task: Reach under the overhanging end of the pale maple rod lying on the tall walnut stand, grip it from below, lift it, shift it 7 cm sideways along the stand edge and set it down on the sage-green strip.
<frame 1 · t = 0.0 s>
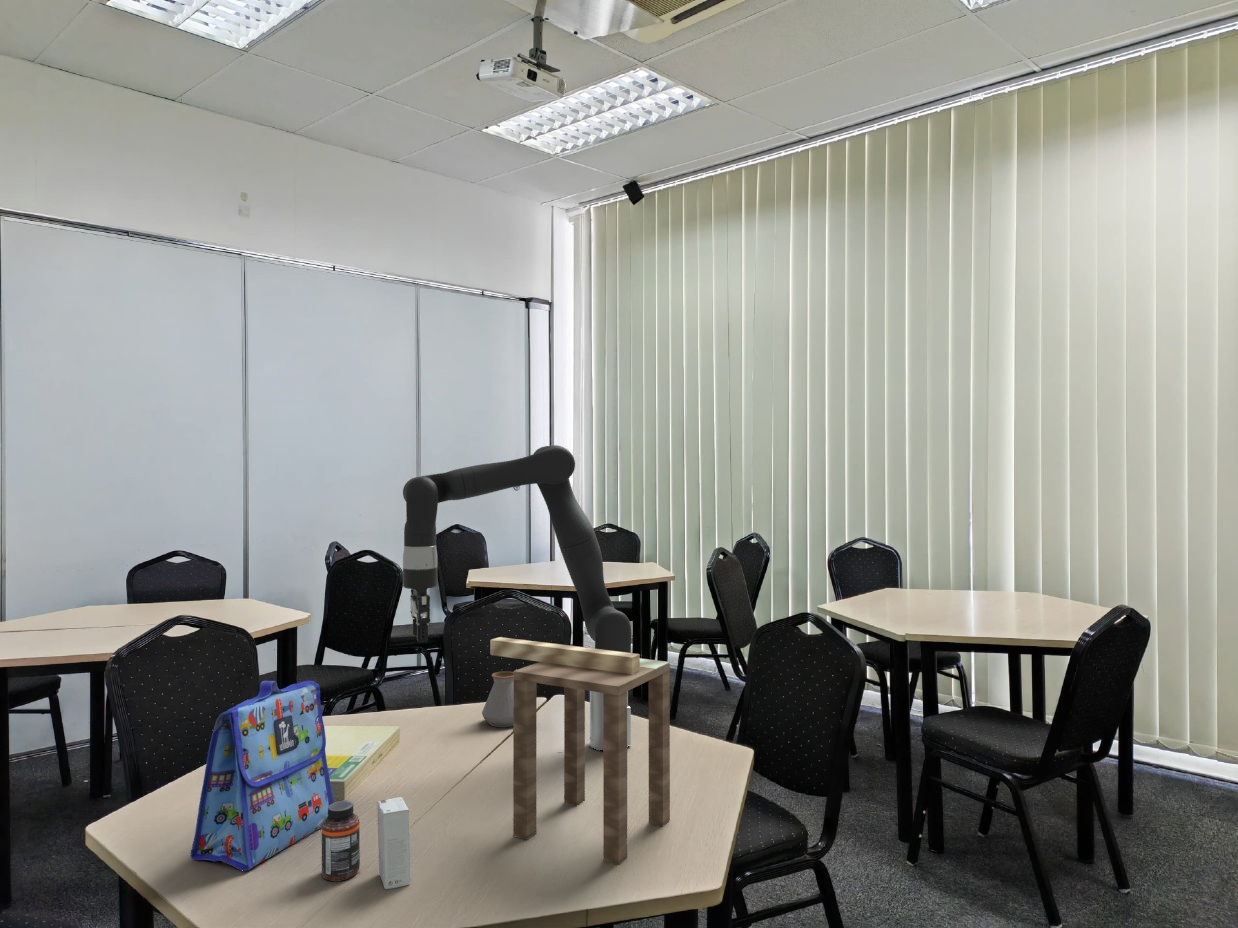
hand: (420, 638, 180), 29 cm above the table, tool pointing down, fingers open, 8 cm apart
lunch bag: (267, 840, 145), on the table
walnut stand: (593, 827, 150), on the table
supplement bottle: (340, 874, 133), on the table
skincare box: (393, 880, 131), on the table
maple rod: (561, 662, 154), point 30 cm above the table, touching walnut stand
puzzle box: (323, 770, 181), on the table
coffee pot: (522, 722, 214), on the table
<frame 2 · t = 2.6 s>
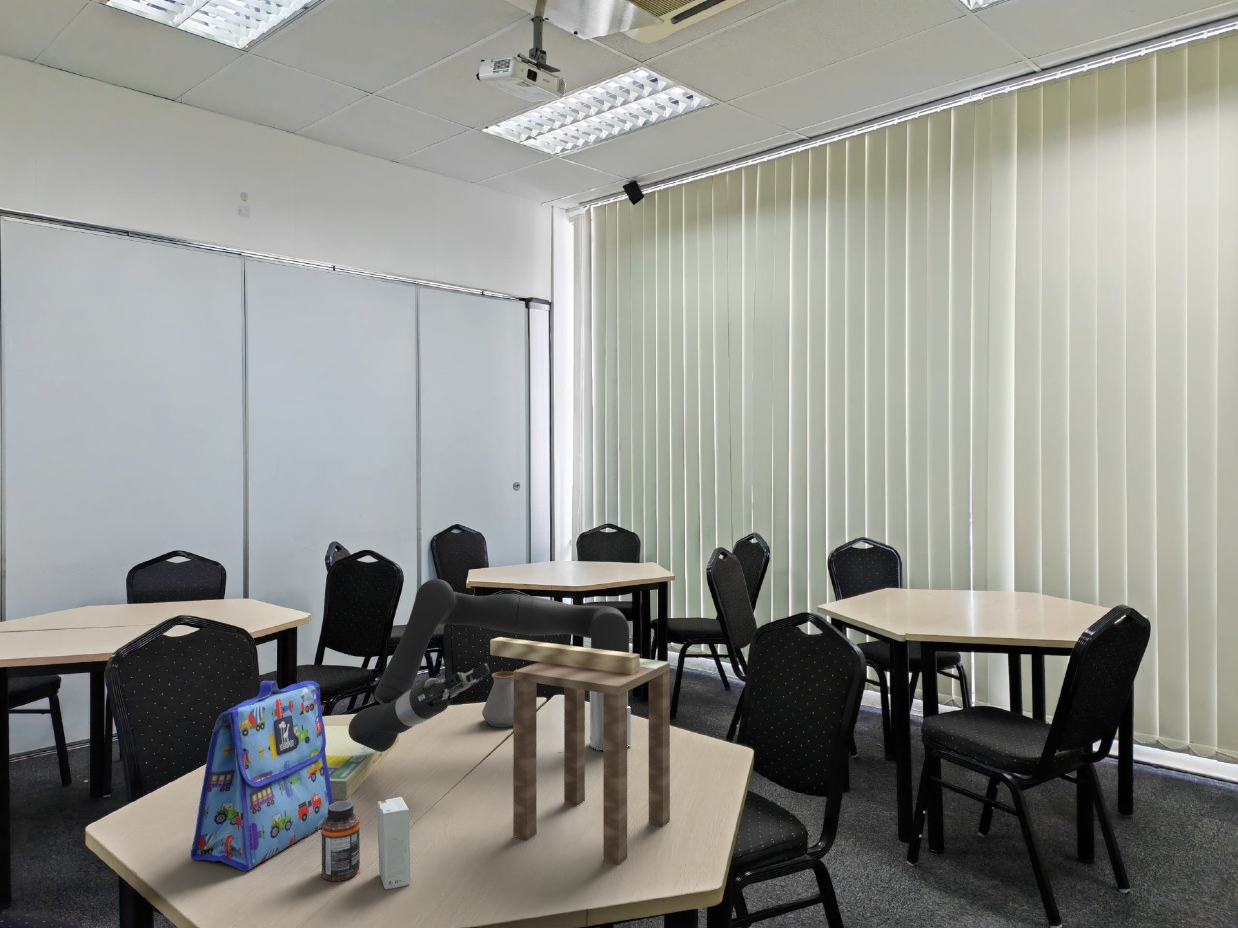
hand: (474, 672, 164), 26 cm above the table, tool pointing upward, fingers open, 8 cm apart
nothing on the table moved.
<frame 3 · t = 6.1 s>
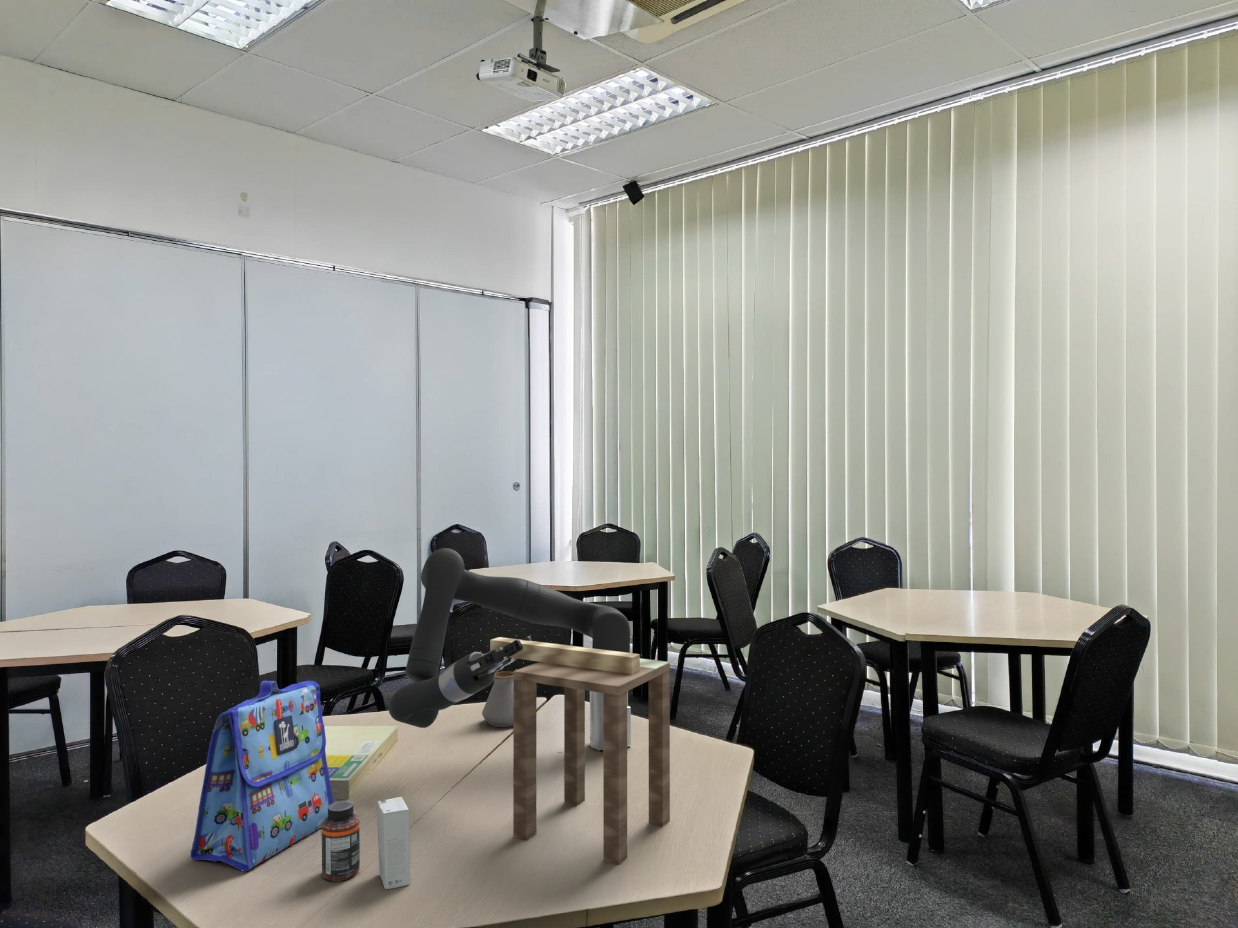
hand: (525, 642, 158), 33 cm above the table, tool pointing upward, fingers closed on maple rod, 3 cm apart
maple rod: (561, 662, 153), point 30 cm above the table, touching gripper, walnut stand
everything else where it was.
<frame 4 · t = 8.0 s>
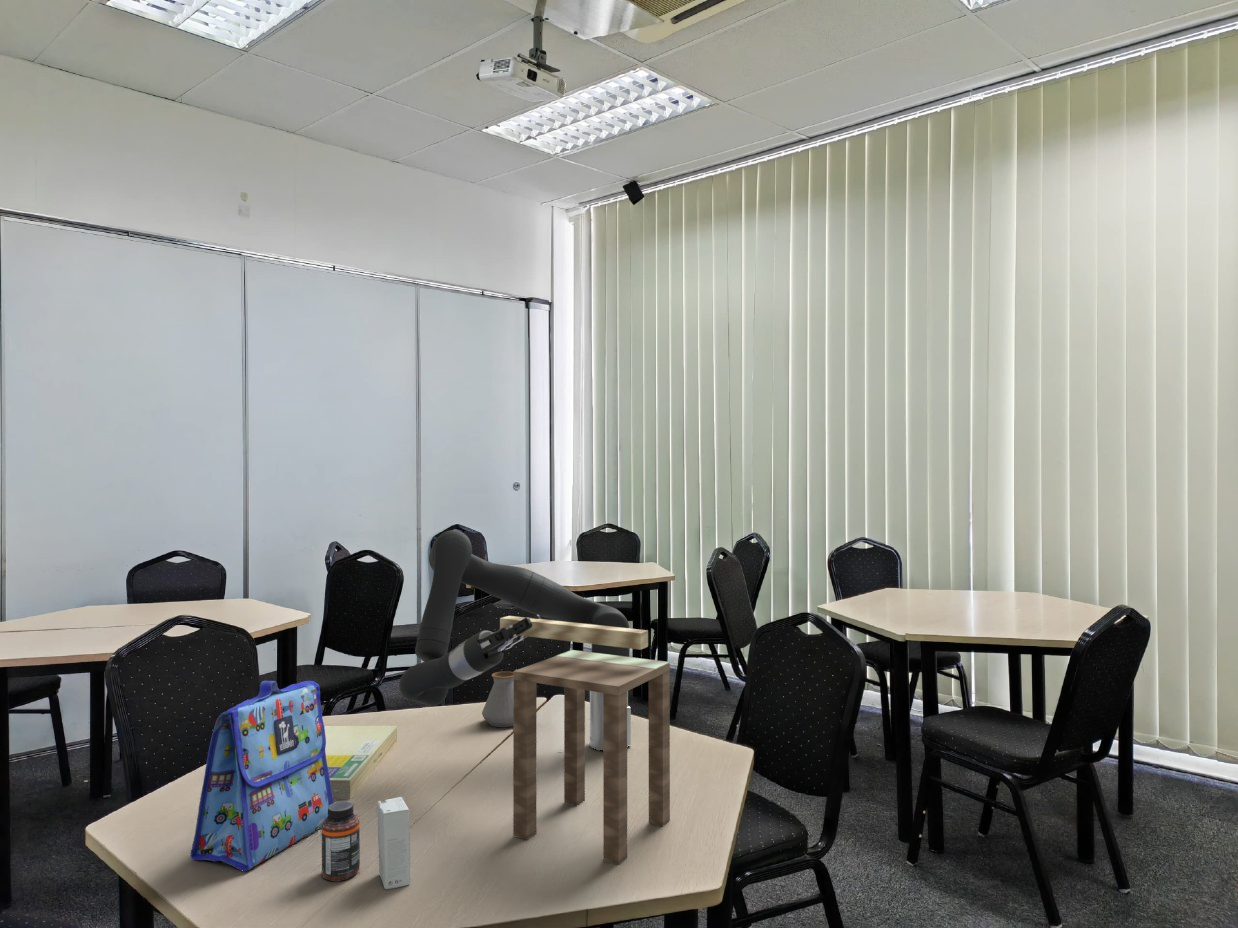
hand: (534, 620, 160), 37 cm above the table, tool pointing upward, fingers closed on maple rod, 3 cm apart
maple rod: (571, 639, 156), point 34 cm above the table, touching gripper
everything else where it was.
when the fingers open (34 cm above the table, at t = 10.1 s): maple rod stays where it is, resting on walnut stand.
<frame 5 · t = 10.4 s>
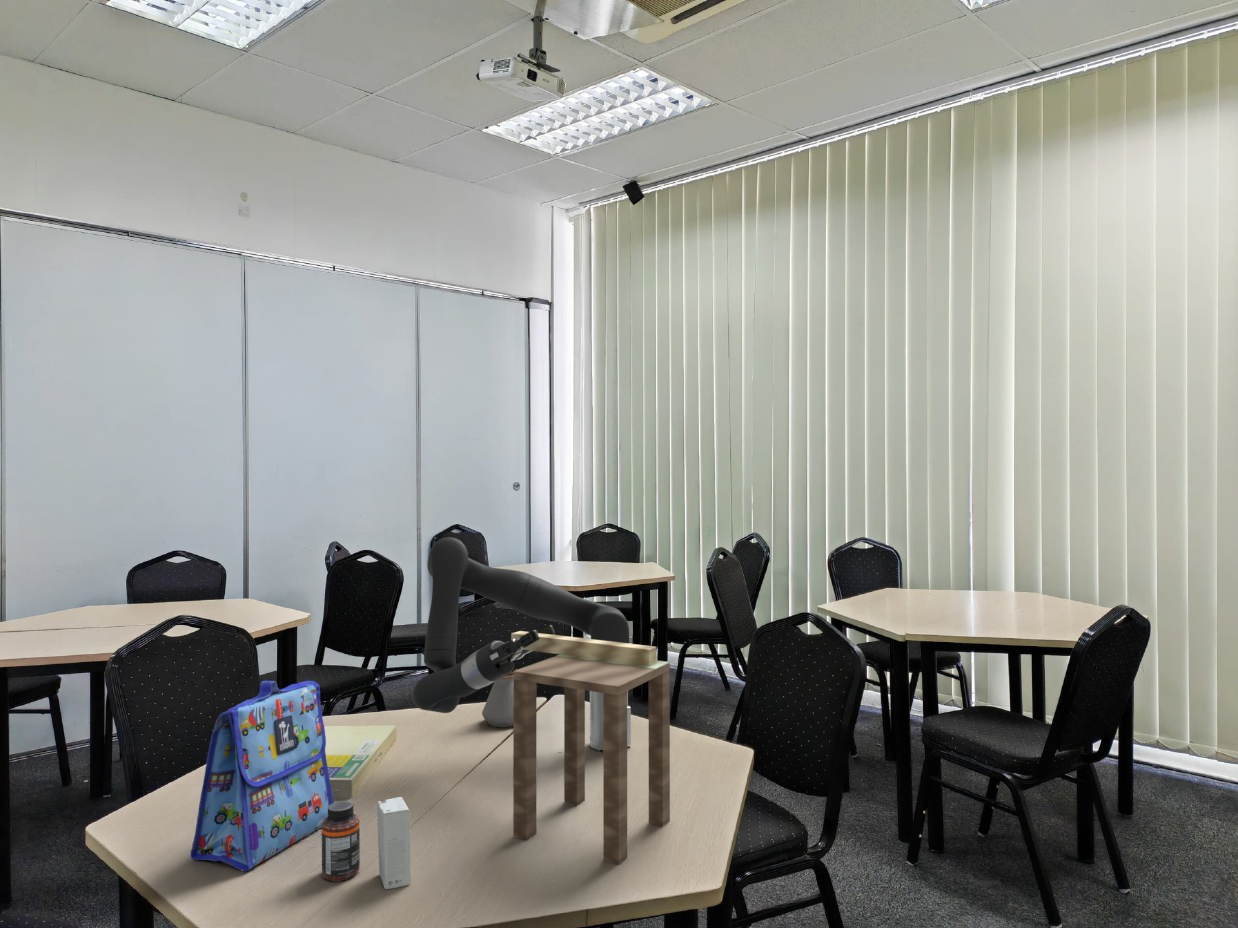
hand: (544, 631, 164), 34 cm above the table, tool pointing upward, fingers open, 5 cm apart
maple rod: (581, 654, 160), point 30 cm above the table, touching walnut stand
everything else where it was.
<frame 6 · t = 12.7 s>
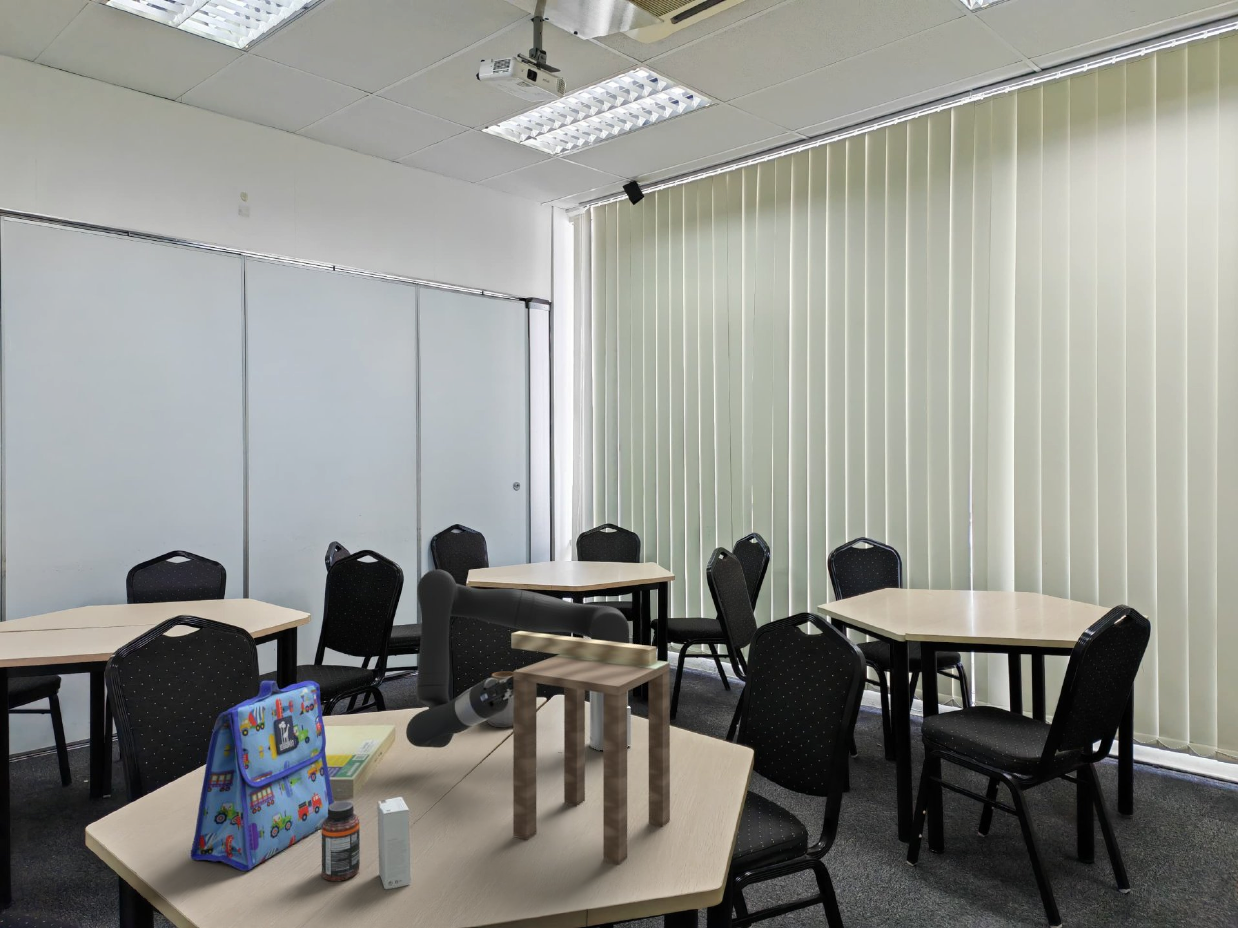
hand: (535, 671, 165), 25 cm above the table, tool pointing upward, fingers open, 8 cm apart
nothing on the table moved.
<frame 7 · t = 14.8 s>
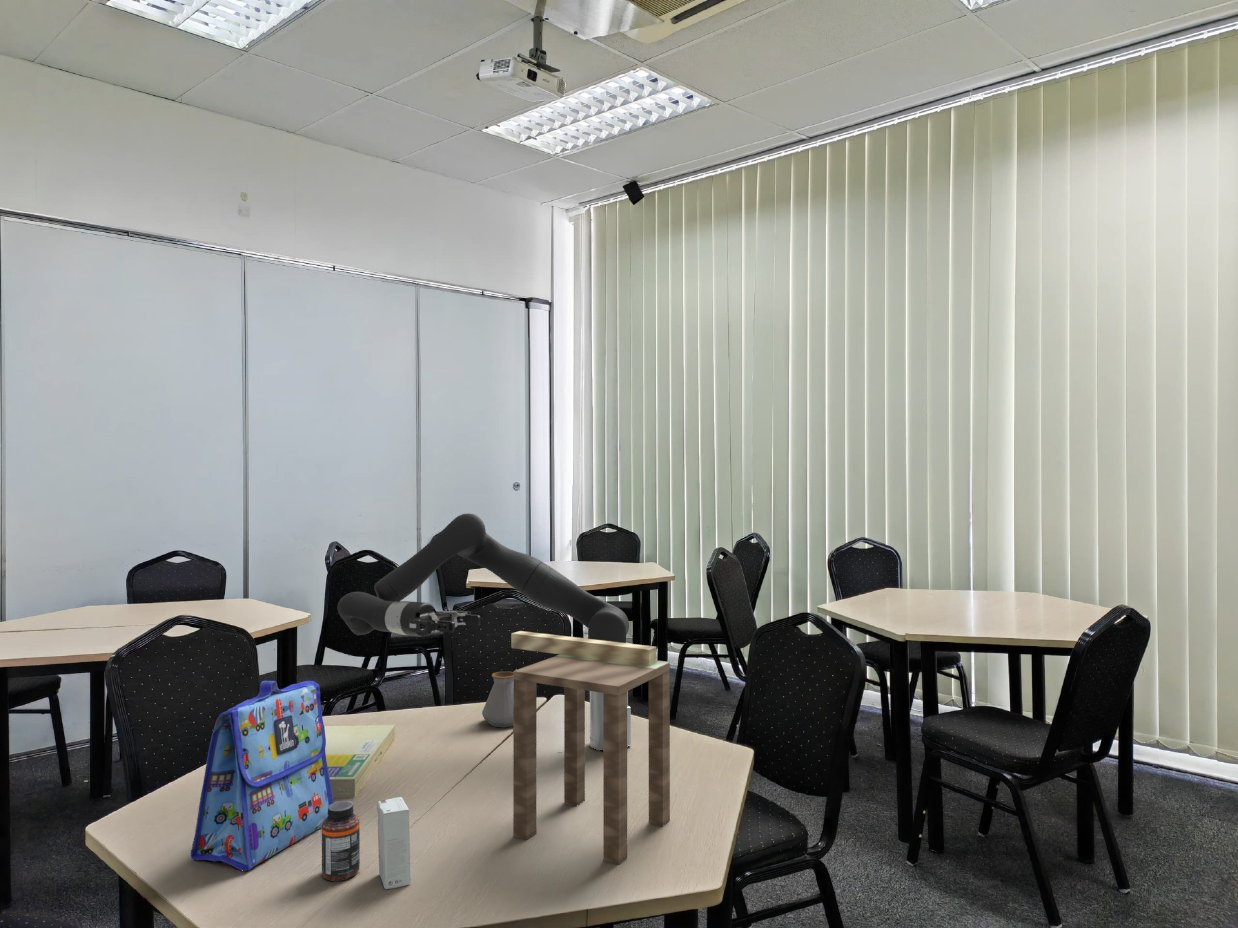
hand: (467, 623, 174), 34 cm above the table, tool horizontal, fingers open, 8 cm apart
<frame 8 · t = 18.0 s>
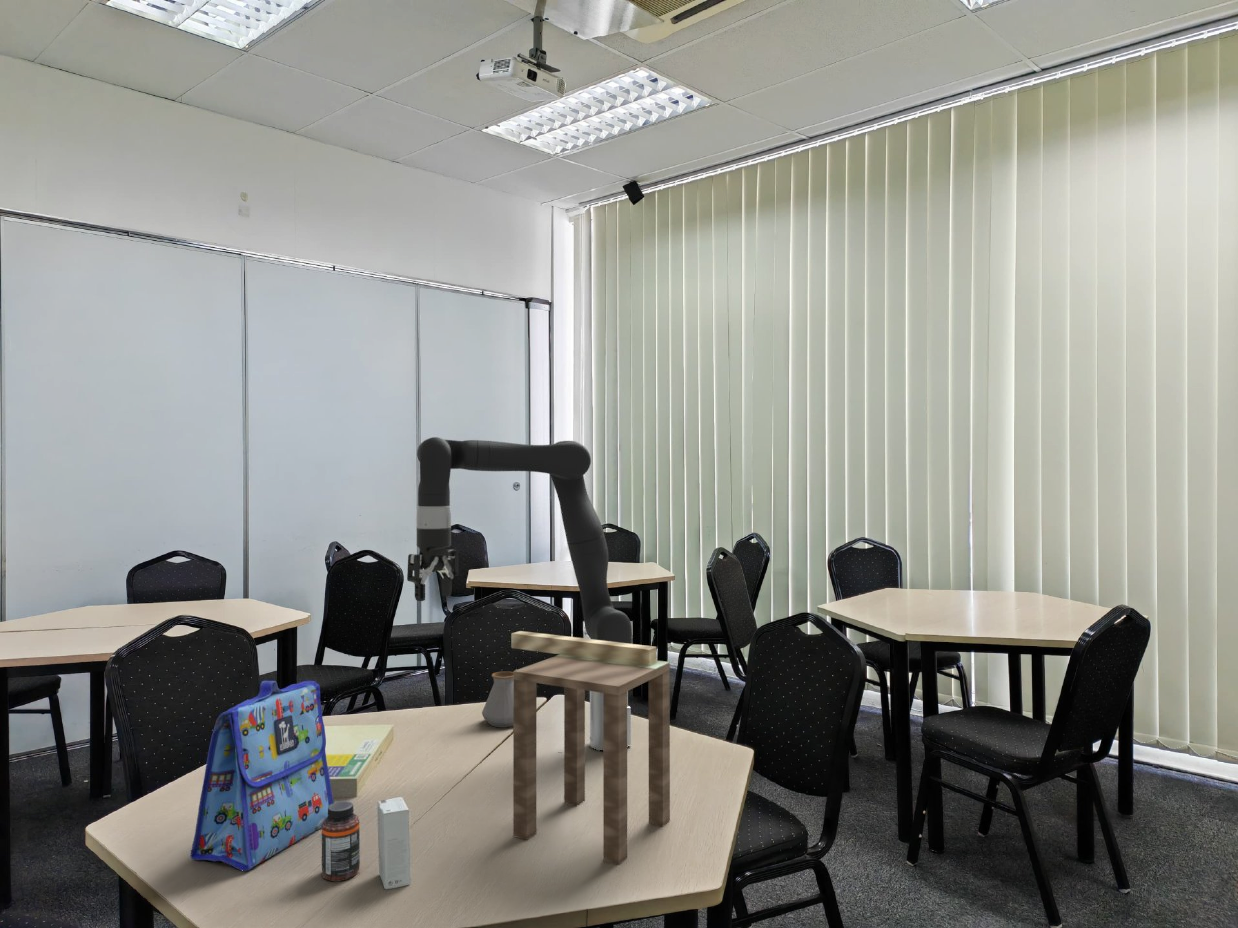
hand: (433, 598, 181), 38 cm above the table, tool pointing down, fingers open, 8 cm apart
at the end: maple rod 0.0 cm from the target spot, point 30.0 cm above the table; maple rod tilted 0°; the gripper is holding nothing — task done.
